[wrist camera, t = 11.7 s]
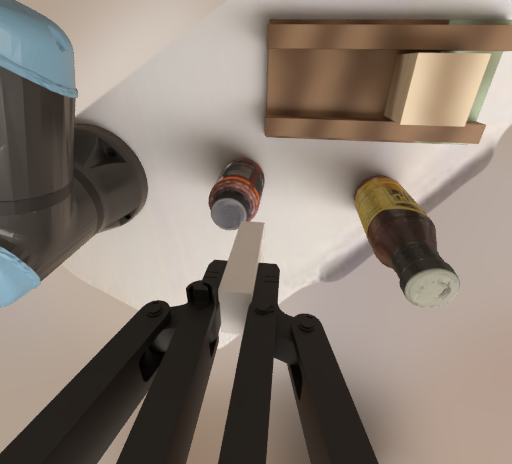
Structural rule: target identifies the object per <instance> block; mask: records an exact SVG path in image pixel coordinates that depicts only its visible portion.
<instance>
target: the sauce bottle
mask: <svg viewBox="0 0 512 464" xmlns="http://www.w3.org/2000/svg"><path fill="white" fill-rule="evenodd" d="M354 200H355V206H356V209H357V212H358V215H359V217H360V220H361V223H362V225H363V228H364V231H365V233H366V236H367V238H368V241H369V243H370V245H371V246H372V248H373V251H374V254H375V255H376V257H377V258H378V259H379V260H380V262H381V263H382V264H384V265H385V266H387V267H390V268H392V269H394V270H395V272H396V273H397V275H398V277H399V278H400V287H401V289H402V291H403V293H404V295H405V297H406V298H407V300H409V301H410V302H411V303H412V304H414V305H416V306H419V307H430V308H431V307H438V306H441V305H444V304H445V303H448V302H449V301H451V300H452V299H453V298H454V297H455V296H456V295H457V293H458V291H459V287H460V282H459V279H458V276H457V275H456V273H455V272H454V270H453V269H452V267H451V266H450V265H449V264H447V263H446V262H444V260H443V259H442V258H441V257H440V256H439V253H438V252H437V242H436V229H435V225H434V224H433V222H432V221H431V220H430V218H429V217H428V216H427V215H426V214H425V212H424V211H423V210H422V209H421V208H420V207H419V205H418V204H417V203H416V202H415V201H414V199H412V197H411V196H410V195H409V194H408V193H407V192H406V191H405V189H404V188H403V187H402V186H401V185H400V184H399V183H398V182H397V181H395V180H393V179H391V178H388V177H385V176H377V177H373V178H370V179H368V180H366V181H364V182H363V183H362V184H361V185H360V186H359V188H358V190H357V192H356V194H355V198H354Z"/></svg>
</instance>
